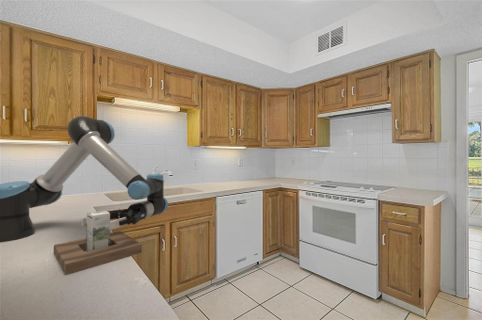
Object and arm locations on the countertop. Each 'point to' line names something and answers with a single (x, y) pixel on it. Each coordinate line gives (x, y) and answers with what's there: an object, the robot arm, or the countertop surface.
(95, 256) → the hole board
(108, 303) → the countertop surface
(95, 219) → the syrup box
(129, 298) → the countertop surface
